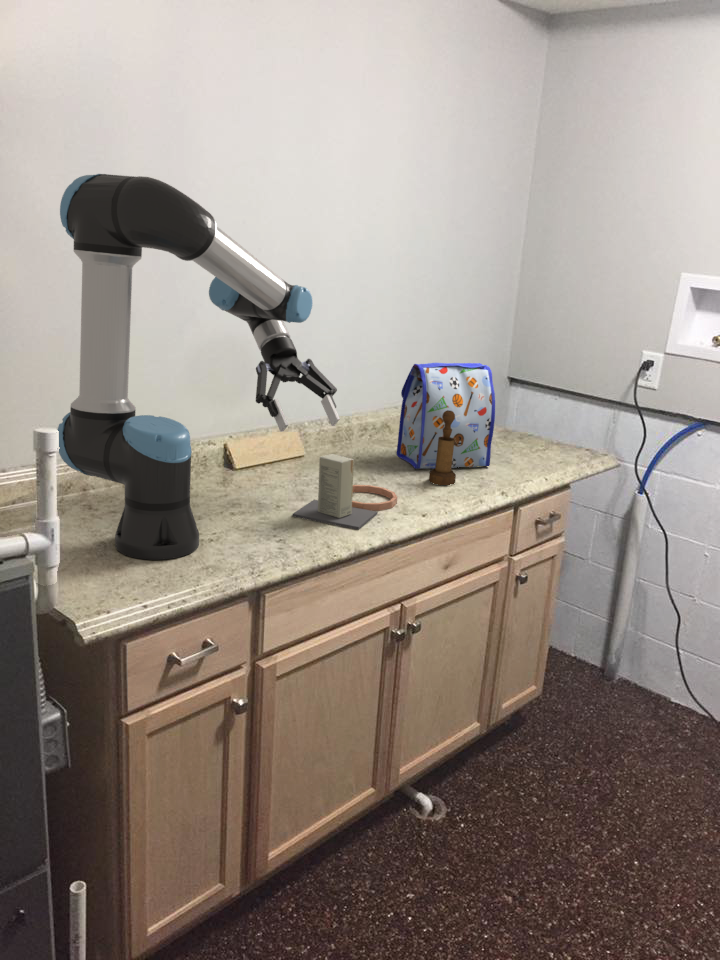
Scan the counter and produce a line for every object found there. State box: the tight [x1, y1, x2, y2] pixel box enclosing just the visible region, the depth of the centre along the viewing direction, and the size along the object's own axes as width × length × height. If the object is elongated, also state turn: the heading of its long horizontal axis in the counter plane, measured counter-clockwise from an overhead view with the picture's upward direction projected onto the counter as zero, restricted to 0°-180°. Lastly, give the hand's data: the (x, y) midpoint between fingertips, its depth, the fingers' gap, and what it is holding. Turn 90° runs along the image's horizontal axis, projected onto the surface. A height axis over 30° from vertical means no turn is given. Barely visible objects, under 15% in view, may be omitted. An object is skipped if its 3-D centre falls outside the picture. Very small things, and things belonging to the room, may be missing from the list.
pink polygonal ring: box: [352, 484, 398, 512], centre depth 189 cm, size 14×14×2 cm
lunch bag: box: [396, 362, 496, 470], centre depth 222 cm, size 23×17×27 cm
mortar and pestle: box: [428, 410, 457, 486], centre depth 205 cm, size 7×6×18 cm
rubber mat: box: [292, 499, 378, 531], centre depth 178 cm, size 11×15×1 cm
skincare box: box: [317, 453, 355, 518], centre depth 176 cm, size 6×4×12 cm
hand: (310, 425), depth 181 cm, fingers open, 13 cm apart
